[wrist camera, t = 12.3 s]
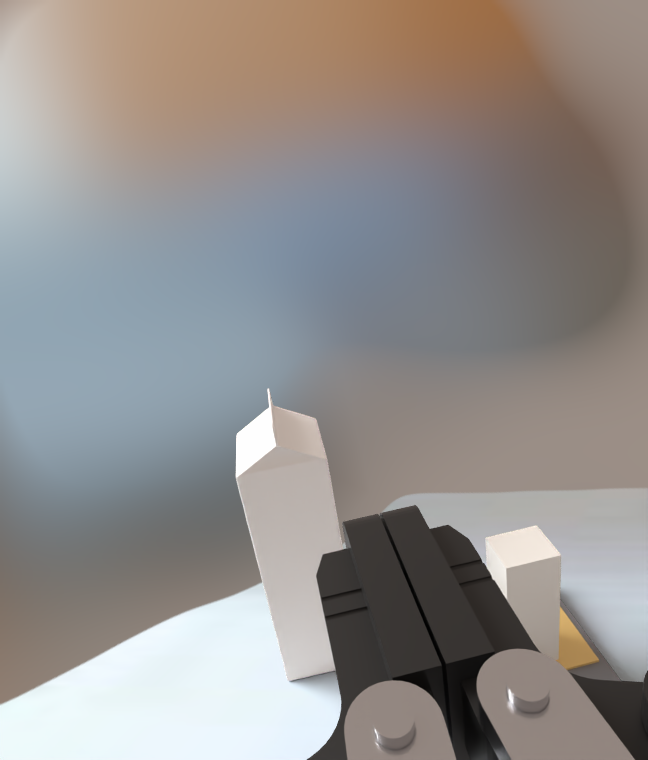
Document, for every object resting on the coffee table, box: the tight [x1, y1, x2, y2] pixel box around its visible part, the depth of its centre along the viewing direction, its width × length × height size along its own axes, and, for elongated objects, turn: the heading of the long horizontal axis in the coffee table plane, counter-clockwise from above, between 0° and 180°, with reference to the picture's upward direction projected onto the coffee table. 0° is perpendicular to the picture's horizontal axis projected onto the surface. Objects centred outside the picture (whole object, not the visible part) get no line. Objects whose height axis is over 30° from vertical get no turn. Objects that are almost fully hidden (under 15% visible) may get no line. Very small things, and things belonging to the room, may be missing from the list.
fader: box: [486, 525, 561, 660], centre depth 38 cm, size 4×3×9 cm
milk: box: [236, 389, 343, 681], centre depth 41 cm, size 6×6×22 cm
